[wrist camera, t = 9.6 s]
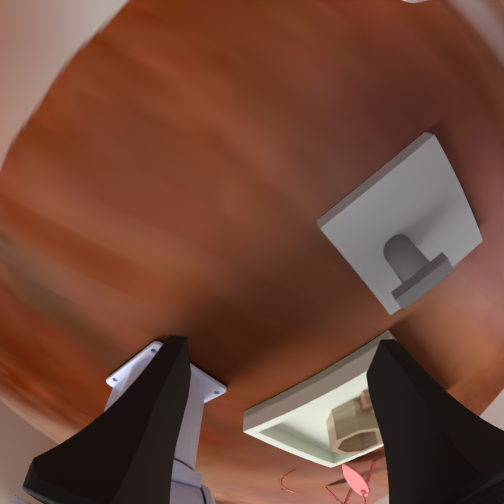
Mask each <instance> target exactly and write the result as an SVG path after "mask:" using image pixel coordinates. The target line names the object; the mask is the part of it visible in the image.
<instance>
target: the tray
mask: <svg viewBox="0 0 504 504" xmlns="http://www.w3.org/2000/svg"><path fill="white" fill-rule="evenodd" d="M381 339H395V337H394V336H393V335H392V334H391V332H390V331H389V330H387V331H385V332H384V333H383V334H381V335H380V336H378V337H377V338H375V339H374V340H372V341H370V342H369V343H367V344H366V345H364V346H363V347H361V348H360V349H358V350H356V351H355V352H353V353H352V354H350V355H348V356H347V357H345V358H343V359H342V360H340V361H338V362H337V363H335V364H333V365H332V366H330V367H328V368H327V369H325V370H323V371H321V372H320V373H318V374H316V375H314V376H312V377H311V378H309V379H307V380H305V381H303V382H302V383H300V384H298V385H296V386H294V387H292V388H290V389H288V390H286V391H284V392H282V393H280V394H279V395H277V396H275V397H273V398H270V399H268V400H266V401H264V402H262V403H260V404H258V405H256V406H254V407H252V408H250V409H247V410H245V411H244V423H243V432H245V433H247V434H249V435H251V436H253V437H256V438H258V439H260V440H262V441H264V442H267V443H269V444H271V445H273V446H276V447H278V448H281V449H283V450H285V451H288V452H290V453H293V454H295V455H298V456H300V457H303V458H305V459H308V460H311V461H314V462H316V463H319V464H322V465H325V466H328V467H334V466H337V465H339V464H342V463H345V462H347V461H350V460H352V459H354V458H357V457H359V456H362V455H364V454H366V453H368V452H371V451H373V450H375V449H377V448H379V447H382V446H384V445H383V444H381V445H378V446H376V447H374V448H372V449H370V450H367V451H365V452H363V453H356V454H347V455H341V454H338V453H336V452H334V451H332V450H331V449H330V443H329V436H328V430H327V424H326V421H327V419H328V417H329V415H330V412H331V410H332V409H334V408H336V407H338V406H340V405H342V404H344V403H346V402H348V401H350V400H352V399H359V397H360V395H361V393H362V391H364V390H368V384H367V377H366V373H367V371H368V369H369V366H370V364H371V362H372V359H373V357H374V355H375V352H376V350H377V347H378V345H379V342H380V340H381ZM395 340H396V339H395ZM396 341H397V340H396ZM397 342H398V341H397ZM398 343H399V342H398Z"/></svg>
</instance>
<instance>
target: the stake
mask: <svg viewBox="0 0 504 504" xmlns="http://www.w3.org/2000/svg"><path fill="white" fill-rule="evenodd" d="M316 222H317V224H318V226H319V228H320V229H321V231H322V232H323V233H324V234H325V235H326V236H327V238H328V239H329V240H330V241H331V242H332V243H333V245H334V246H335V247H336V248H337V249H338V251H339V252H340V253H341V254H342V255H343V257H344V258H345V259H346V260H347V261H348V263H349V264H350V265H351V266H352V267H353V269H354V270H355V271H356V272H357V274H358V275H359V276H360V277H361V279H362V280H363V281H364V282H365V284H366V285H367V286H368V287H369V289H370V290H371V291H372V292H373V294H374V295H375V296H376V297H377V299H378V300H379V301H380V302H381V304H382V305H383V306H384V308H385V309H386V310H387V312H388V313H389V314H390V315H392V314H393V313H395V312H396V311H397V310H399V309H400V308H401V309H402V310H404V309H405V308H407V307H408V306H409V305H411V304H412V303H413V302H415V301H416V300H417V299H419V298H420V297H421V296H423V295H424V294H425V293H427V292H428V291H429V290H430V289H432V288H433V287H434V286H435V285H437V284H438V283H439V282H440V281H442V280H443V279H444V278H445V277H446V276H448V275H449V274H450V273H451V272H452V271H454V270H453V268H452V267H454V266H455V265H456V264H457V263H458V262H459V261H461V260H462V259H463V258H464V257H465V256H466V255H467V254H469V253H470V252H471V251H472V250H473V249H474V248H475V247H476V246H477V245H479V244H480V243H481V242H482V241H483V240H482V237H481V234H480V231H479V228H478V226H477V223H476V221H475V218H474V216H473V213H472V211H471V208H470V206H469V203H468V201H467V199H466V196H465V194H464V192H463V190H462V187H461V185H460V183H459V181H458V179H457V177H456V175H455V173H454V171H453V168H452V166H451V164H450V163H449V161H448V159H447V157H446V155H445V153H444V151H443V149H442V147H441V145H440V144H439V142H438V140H437V138H436V136H435V135H434V134H430V133H427V132H424V133H423V134H422V135H420V136H419V137H418V138H417V139H416V140H414V141H413V142H412V143H411V144H410V145H408V146H407V147H406V148H405V149H404V150H402V151H401V152H400V153H399V154H398V155H396V156H395V157H394V158H393V159H391V160H390V161H389V162H388V163H387V164H385V165H384V166H383V167H382V168H380V169H379V170H378V171H377V172H376V173H374V174H373V175H372V176H371V177H369V178H368V179H367V180H366V181H365V182H363V183H362V184H361V185H360V186H358V187H357V188H356V189H355V190H353V191H352V192H351V193H350V194H349V195H347V196H346V197H345V198H344V199H342V200H341V201H340V202H339V203H337V204H336V205H335V206H334V207H332V208H331V209H330V210H329V211H327V212H326V213H325V214H324V215H322V216H321V217H320V218H319V219H317V220H316Z"/></svg>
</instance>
